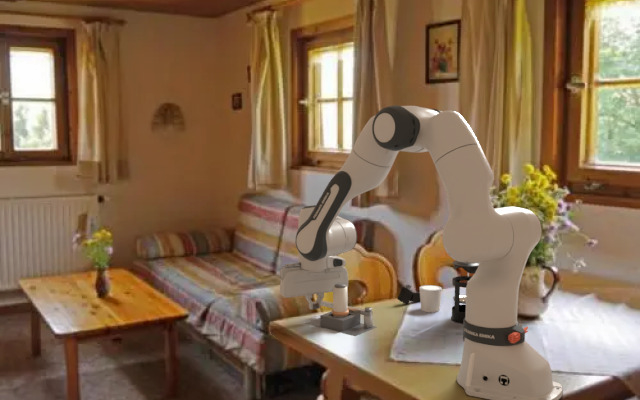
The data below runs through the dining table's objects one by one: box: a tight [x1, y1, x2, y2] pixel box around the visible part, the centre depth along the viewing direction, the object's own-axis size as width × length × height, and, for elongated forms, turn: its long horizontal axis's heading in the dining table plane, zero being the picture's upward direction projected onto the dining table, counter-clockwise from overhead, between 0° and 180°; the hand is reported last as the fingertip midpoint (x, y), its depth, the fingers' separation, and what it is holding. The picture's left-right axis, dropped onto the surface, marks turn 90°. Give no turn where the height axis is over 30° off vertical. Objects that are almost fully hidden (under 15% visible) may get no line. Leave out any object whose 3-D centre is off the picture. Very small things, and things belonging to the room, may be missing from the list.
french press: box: [450, 260, 479, 325], centre depth 196 cm, size 12×9×23 cm
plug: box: [331, 283, 349, 318], centre depth 189 cm, size 5×5×12 cm
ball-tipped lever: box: [321, 300, 373, 316], centre depth 193 cm, size 18×2×2 cm, turn 50°
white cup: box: [419, 284, 443, 313], centre depth 208 cm, size 7×7×7 cm
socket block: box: [304, 310, 377, 337], centre depth 190 cm, size 18×10×4 cm, turn 50°
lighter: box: [396, 284, 421, 305], centre depth 215 cm, size 9×2×6 cm
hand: (314, 308), depth 194 cm, fingers closed
